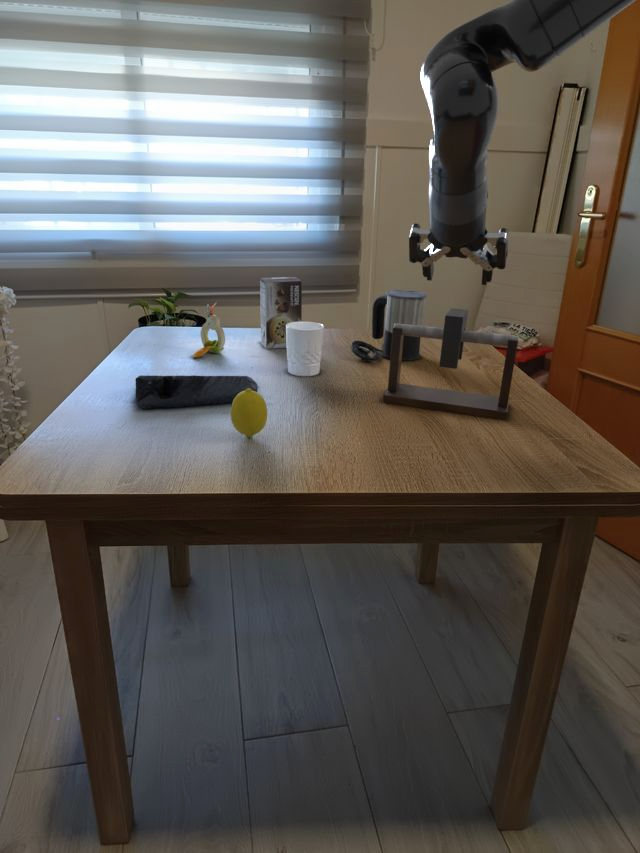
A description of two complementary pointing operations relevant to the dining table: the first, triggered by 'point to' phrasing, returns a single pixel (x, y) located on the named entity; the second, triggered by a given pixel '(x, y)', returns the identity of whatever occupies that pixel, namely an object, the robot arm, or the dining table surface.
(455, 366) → the dark grey hook
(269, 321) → the coffee box
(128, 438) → the dining table surface
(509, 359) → the rail stand
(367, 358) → the milk frother
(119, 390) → the dining table surface
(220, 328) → the rattle
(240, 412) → the lemon
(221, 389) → the dark slate chunk
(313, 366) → the white cup
